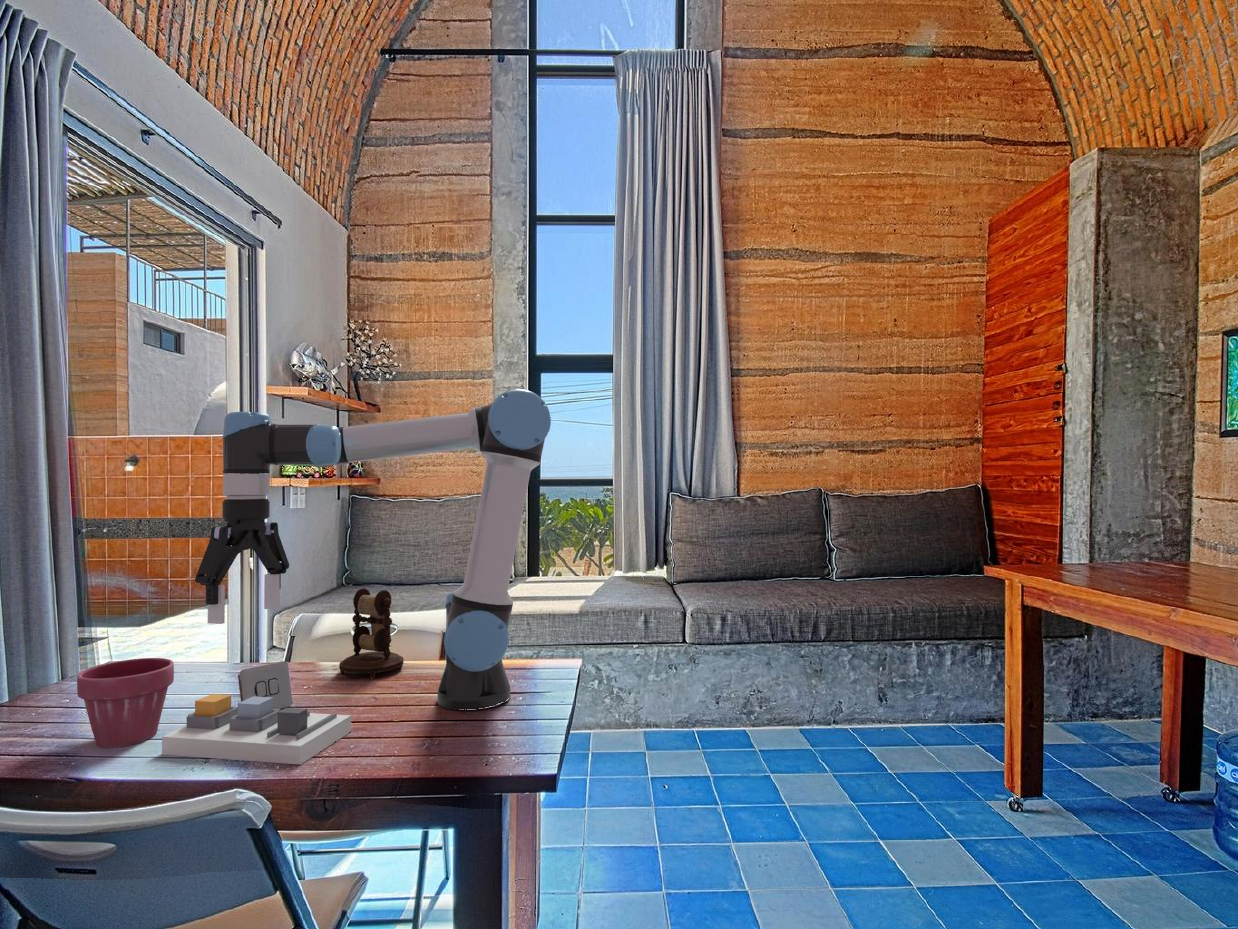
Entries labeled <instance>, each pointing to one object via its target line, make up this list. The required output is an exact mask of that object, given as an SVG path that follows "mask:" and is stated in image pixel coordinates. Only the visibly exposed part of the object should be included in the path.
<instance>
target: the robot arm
mask: <svg viewBox="0 0 1238 929" xmlns="http://www.w3.org/2000/svg"><path fill="white" fill-rule="evenodd" d="M551 420H552V418H551V413H550V410H549V407H548V405H547V403H546V402H545V401H544V400H543V399H542V397H540V395H538V394H537V393H535V392H533V391H530V390H529V389H527V390H526V389H520V388H517V389H511V390H507V391H504V392H503V393H501V394H498V396H497V397H495V399H494V400H493V402H492V403H491V404H487V405H484V406H476V407H472V408H471V409H470V410H469V411H468V412H465V413H456V414H446V415H439V416H436V415H435V416H429V417H427V416H426V417H419V418H410V419H403V420H402V419H401V420H393V421H385V422H376V423H374V422H373V423H365V424H356V425H355V424H354V425H348V426H338V427H337V426H335V425H332V424H330V425H329V424H322V423H316V424H279V423H272V420H271V417H270V415H269V414H268V413H265V412H256V411H254V412H252V411H232V412H228V413H227V414H226V415H225V417H224V420H223V434H222V437H221V439H222V467H223V470H222V496H224V497H226V498H225V499H223V501H222V512H221V513H222V514H221V515H222V520H224V521H226V526H212V527H211V529H210V535H209V538H210V539H209V542H208V543H207V547H206V550H205V552H204V554H203V557H202V559H201V562H200V565H199V567H198V570H197V573H196V575H195V578H194V581H195V583H197V584H200V585H201V586H205V604H206V606H207V624H213V625H215V624H218V625H223V624H225V616H226V615H225V613H226V612H225V609H226V608H225V607H226V600H225V599H226V597H225V596H226V595H225V594H226V585H225V584H222V582H223V580H224V578H225V577H226V575H227V573H228V571H229V570H230V568H231V566H232V565H233V564H234V561H235V559H236V558H237V556H238V555H239V554H241V553H242V552H243V551H247V550H252V551H254V553H255V554H256V556H257V557H258V559H259V561H260V562H261V564H262V565H263V567H264V569H265V570H266V571H267V572H268V573H265V574H264V587H263V588H264V591H263V592H264V594H263V596H264V597H263V598H264V599H263V603H264V604H263V608H264V610H280V595H281V594H280V593H281V592H280V591H281V586H282V583H281V581H282V578H281V577H282V576H281V575H282V574H284V575H285V574H286V573H287V570H288V569H289V568H290V562H289V560H288V556H287V554H286V552H285V549H284V545H283V542H282V539H281V537H280V534H279V524H278V523H277V522H268V521H267V522H266V521H265V520H267V519H268V518H269V517H270V511H271V510H270V507H271V506H270V504H271V503H270V500H269V498H267V497H268V496H269V495H271V474H270V472H271V470H270V469H271V465H274V466H310V467H311V466H313V467H314V468H327V467H328V468H329V467H332V466H336V465H345V464H350V463H359V462H367V461H377V460H384V459H385V460H386V459H391V458H392V459H394V458H401V457H402V458H403V457H409V456H418V455H426V454H434V453H435V454H436V453H442V452H445V453H446V452H451V451H452V452H453V451H459V450H461V451H462V450H468V449H472V450H473V449H474V450H475V451H476V452H477V453H481V455H482V456H483V457H484V459H485V460H486V468H485V472H484V479H483V483H482V489H481V494H480V499H479V502H478V503H479V505H478V509H477V514H476V519H475V525H474V528H473V533H472V539H471V543H470V549H469V553H468V560H467V564H466V569H465V574H464V580H463V584H462V585H461V586H459V587H458V588H457V589H456V590H454V591H451V592H449V593H448V594H447V596H446V600H445V601H446V602H445V605H444V606H445V609H446V610H445V613H446V614H445V615H446V616H445V618H446V619H445V633H444V635H443V636H444V637H443V647H444V649H445V655H446V656H445V667H444V670H443V674H442V676H441V680H440V683H439V686H438V688H437V700H436V701H437V702H436V703H437V704H438V706H440V705H441V706H442V708H444V707H445V708H444V709H447V708H448V709H447V710H451V709H456V710H455V711H460V710H459V709H464V710H465V709H466V710H467V709H479V708H485V707H489V706H493V705H496V704H498V703H501V702H505V701H506V700H507V699H508V698H509V697H510V698H511V684H510V682H509V678H508V675H507V673H506V669H505V667H504V663H503V658H504V656H505V654H506V652H507V650H508V647H509V644H510V636H509V635H510V633H509V627H510V622H511V616H512V611H513V604H514V599H513V598H512V597H511V595H510V594H509V592H508V589H509V585H510V580H511V576H512V575H511V574H512V570H513V565H514V560H515V554H516V550H517V544H518V538H519V533H520V527H521V524H522V523H521V522H522V518H523V514H524V513H523V512H524V507H525V502H526V497H527V493H528V487H529V482H530V476H531V472H532V471H533V470H534V469H535V468H537V467H538V466H539V465H541V461H542V460H541V459H542V456H543V450H544V445H545V440H546V437H547V436H548V434H549V432H550V428H551V425H552V424H551V423H552V422H551ZM441 706H440V707H441Z"/></svg>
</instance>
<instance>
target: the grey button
mask: <svg viewBox="0 0 1238 929" xmlns="http://www.w3.org/2000/svg"><path fill="white" fill-rule="evenodd" d="M237 707H238V718H249V719H260V718H262V717H264V716H266V715H268V714H270V713H272V712H273V697H255V696H253V697H251V698H249V699H246V700H244V701H242V702H241V701H240V702H237Z"/></svg>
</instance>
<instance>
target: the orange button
mask: <svg viewBox="0 0 1238 929" xmlns="http://www.w3.org/2000/svg"><path fill="white" fill-rule="evenodd" d="M231 706H232V695H231V694H219V693H218V694H216V693H212V694H209V695H207V696H204V697H201V698H199V699H197V700H194V712H195V715H200V716H217V715H219V714H222V713H224V712H226V711H228V710H230V709H231Z"/></svg>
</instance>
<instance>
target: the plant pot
mask: <svg viewBox="0 0 1238 929" xmlns="http://www.w3.org/2000/svg"><path fill="white" fill-rule="evenodd" d="M174 678H175V665H174V661H173V660H171V659H168V658H165V657H164V658H162V657H143V658H141V657H139V658H132V659H123V660H117V661H113V662H108V663H103V664H99V665H96V666H93V667H89V668H87V669H85V670H83V671H81V672H80V673H78V674H77V677H76V679H77V680H76V693H77V694H76V695H77V697H78V698H79V699H81V700H83V701H84V705H85V709H86V714H87V717H88V721H89V724H90V728H91V731H92V735H93V738H94V742H95V745H96V746H97V745H98V747H100V748H119V747H124V746H125V747H127V746H130V745H135V744H138V743H142V742H144V741H147V740H149V739H151V738H153V737H154V736H155V735H156V734H157V733H158V731H159V730H158V729H159V726H160V721H161V716H162V712H163V708H164V705H165V701H166V697H167V693H168V689H169V687H170V686H171V685H172V684H173V683H174V680H175V679H174Z"/></svg>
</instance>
